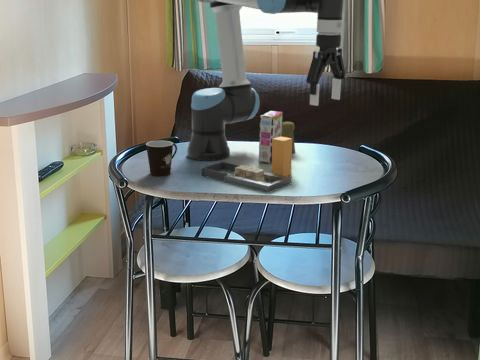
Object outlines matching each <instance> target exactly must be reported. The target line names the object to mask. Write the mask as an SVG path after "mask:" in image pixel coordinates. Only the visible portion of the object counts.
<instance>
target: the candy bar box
mask: <svg viewBox="0 0 480 360" xmlns="http://www.w3.org/2000/svg"><path fill="white" fill-rule="evenodd" d="M283 113H284V112H283V111H276V110H269V111H267V112H265V113H263V114H261V115H260V116H259V137H258V138H259V140H258V141H259V145H258V163H261V164H262V163H263V164H271V165H272V139H274V138H277V137H280V136H281V137H282V123H283Z"/></svg>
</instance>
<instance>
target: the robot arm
mask: <svg viewBox="0 0 480 360" xmlns="http://www.w3.org/2000/svg"><path fill="white" fill-rule="evenodd" d="M196 2H200V3H205V4H206V3H209V8H210V10H211V11H212V12H213V13H214V14H215V20H216V21H215V23H216V30H217V31H216V32H217V40H218V41H217V42H218V51H219V59H220V69H221V77H222V81H221V83H220V85H219V86H218V87H210V88H203V89H199V90H196V91H194V92H193V94H192V95H191V104H190V107H191V108H190V109H191V136H190V140H189V143H188V147H187V150H186V153H187V154H186V155H187V157H188V158H189V159H192V160H195V161H196V160H197V161H210V162H211V161H219V160H225V159H227V158H229V157H230V155H231V154H230V153H231V151H230V147H229V145H228V140H227V138H226V135H225V133H226V125H227V124H228V125H229V124H234V123H238V122H241V123H242V122H246V121H249V120H250V119H254V117H256V114H257V113H258V111H259V109H260V96H259V93H258V92H257V91H256V89H254V88H253V87H252V82H250V81H249V79H248V78H247V73H246V65H245V64H246V63H245V52H244V46H243V45H244V44H243V34H242V26H241V16H240V11H241V9H242V8H243V7H244V8H250V9H255V10H260V11H261V12H262V13H263V14H270V15H275V14H286V13H288V14H289V13H290V14H291V13H314V14H316V15H317V19H316V21H317V22H316V32H317V33H318V34H316V36H315V37H316V40H315V42H316V43H315V45H316V47H318V48H319V50H313V51H312V52H313V53H312V60H311V63H310V66H309V70H308V73H307V75H306V76H307V77H306V80H305V81H306V84H310V88H309V89H310V90H309V92H310V93H309V105H310V106H314V107H315V106H316V107H317V106H319V103H320V99H319V98H320V86H321V85H320V84H319V82H320V80H321V78H322V75H323V73H324V71H325V68H326V67H328V65H329V67H330V70H331V73H332V75H333V78H332V80H331V81H332V82H331V97H330V98H331V99H332V100H337V101H340V99H341V88H342V87H341V86H342V80H345V76H346V70H345V65H344V60H343V49H342V48H341V45H342V44H341V43H342V42H341V41H342V35H341V33H342V27H343V23H342V22H343V21H342V20H343V8H344V7H343V6H344V0H196Z"/></svg>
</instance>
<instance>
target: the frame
mask: <svg viewBox="0 0 480 360" xmlns="http://www.w3.org/2000/svg"><path fill="white" fill-rule="evenodd" d="M242 165H243V164H242ZM242 165H241V164H236V163H232V162H227V161H220V162H217V163H214V164H213V163H212V164H210V165H207V166H204V167H201V176H202V177H207V178H211V179H215V180H219V181H223V182H224V176H225V175H228V172H233V173H235V168H236V167H239V166H242ZM223 171H228V172H223Z"/></svg>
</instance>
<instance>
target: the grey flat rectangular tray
mask: <svg viewBox="0 0 480 360" xmlns="http://www.w3.org/2000/svg"><path fill="white" fill-rule="evenodd" d="M266 181H267V182H266ZM223 182H224V183H229V184H231V185H232V184H233V185H236V186H240V187H244V188H247V189H251V190H255V191H260V192H264V193H268V192H269V193H271V192H274V191H276V190H278V188H279V189H281V188H283V186H284V187H286V186H289V185H291V184H292V177H291V176H283V175H279V174H274V173H272V172H269V171H266V170H264V182H261V181H257V180H253V179H249V178H244V177H240V176H236V175H235V174H231V173H227V175H225V176H224V181H223ZM269 182H271V183H269ZM290 183H291V184H290ZM288 184H289V185H288ZM285 185H286V186H285ZM275 189H276V190H275ZM273 190H274V191H273ZM270 191H271V192H270Z"/></svg>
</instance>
